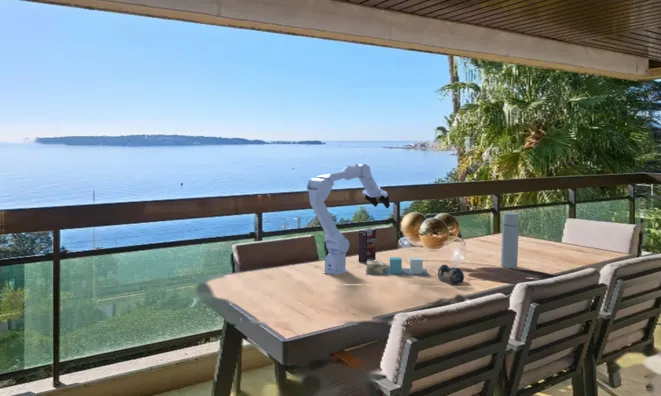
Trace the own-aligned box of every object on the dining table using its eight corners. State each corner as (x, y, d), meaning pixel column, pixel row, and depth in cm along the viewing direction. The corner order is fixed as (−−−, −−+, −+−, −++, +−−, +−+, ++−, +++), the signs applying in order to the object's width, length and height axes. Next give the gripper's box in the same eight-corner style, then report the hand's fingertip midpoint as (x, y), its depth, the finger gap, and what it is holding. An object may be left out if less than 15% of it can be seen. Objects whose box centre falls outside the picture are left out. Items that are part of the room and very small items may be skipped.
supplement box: (366, 264, 239) (366, 231, 237) (358, 263, 242) (358, 230, 240) (376, 261, 246) (376, 229, 244) (367, 259, 249) (368, 228, 247)
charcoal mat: (365, 276, 218) (365, 274, 218) (366, 268, 231) (366, 267, 230) (429, 277, 215) (429, 276, 215) (426, 270, 228) (426, 268, 228)
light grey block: (410, 273, 220) (411, 259, 219) (410, 270, 225) (410, 257, 224) (422, 273, 220) (422, 260, 219) (421, 270, 225) (421, 257, 224)
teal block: (389, 273, 221) (390, 259, 220) (389, 270, 226) (389, 257, 225) (401, 273, 220) (401, 259, 220) (400, 270, 225) (401, 257, 225)
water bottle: (519, 269, 230) (521, 214, 227) (501, 268, 232) (503, 214, 229) (516, 264, 239) (518, 212, 236) (498, 263, 241) (500, 211, 238)
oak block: (366, 273, 220) (367, 264, 220) (367, 269, 227) (367, 260, 227) (383, 273, 220) (383, 264, 219) (382, 269, 227) (382, 260, 226)
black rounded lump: (439, 279, 214) (429, 283, 206) (440, 262, 214) (430, 266, 205) (466, 283, 208) (458, 288, 199) (467, 266, 207) (459, 270, 199)
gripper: (386, 180, 231) (398, 201, 237) (363, 178, 241) (376, 199, 248) (377, 190, 227) (390, 212, 234) (355, 188, 238) (368, 209, 245)
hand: (382, 206), depth 241 cm, fingers open, 7 cm apart
